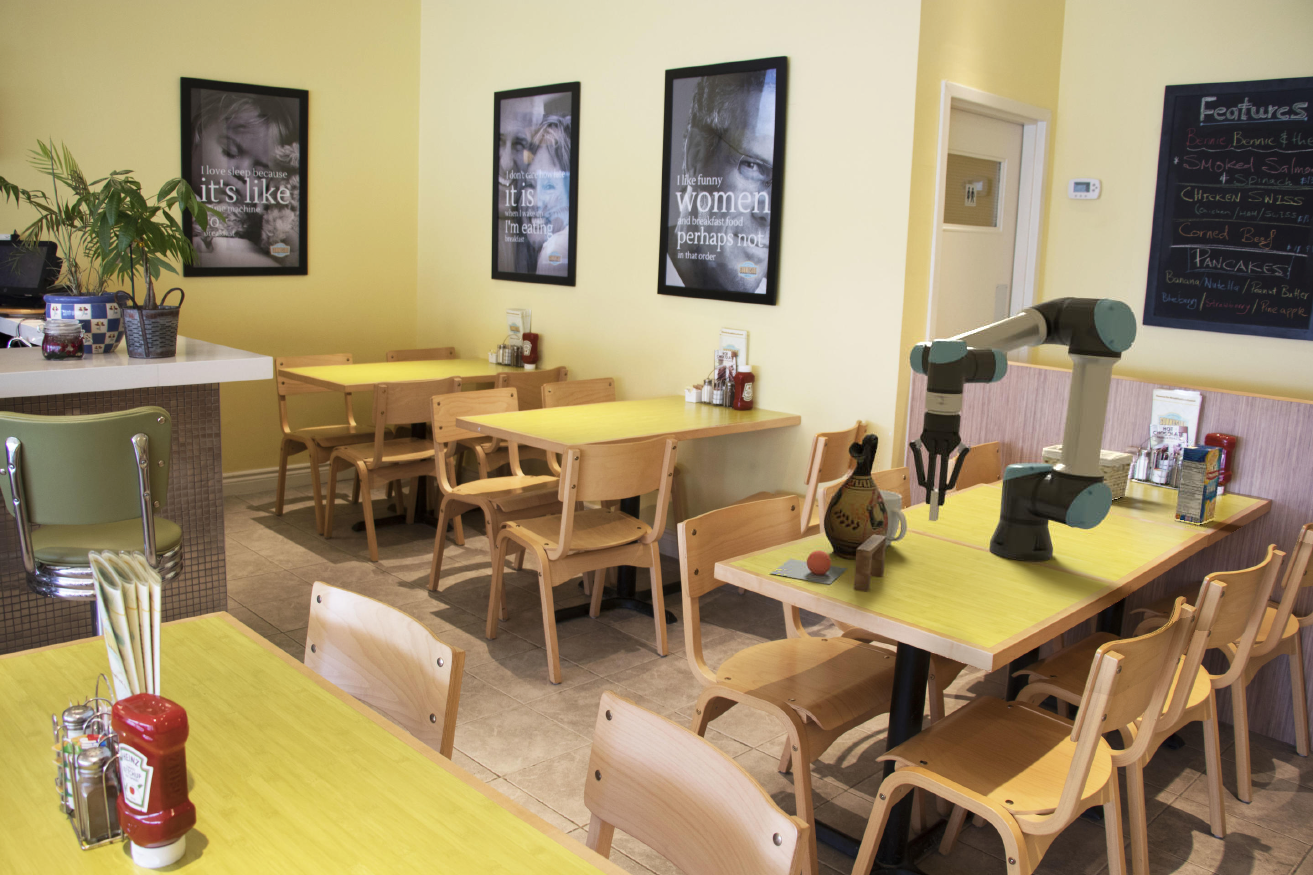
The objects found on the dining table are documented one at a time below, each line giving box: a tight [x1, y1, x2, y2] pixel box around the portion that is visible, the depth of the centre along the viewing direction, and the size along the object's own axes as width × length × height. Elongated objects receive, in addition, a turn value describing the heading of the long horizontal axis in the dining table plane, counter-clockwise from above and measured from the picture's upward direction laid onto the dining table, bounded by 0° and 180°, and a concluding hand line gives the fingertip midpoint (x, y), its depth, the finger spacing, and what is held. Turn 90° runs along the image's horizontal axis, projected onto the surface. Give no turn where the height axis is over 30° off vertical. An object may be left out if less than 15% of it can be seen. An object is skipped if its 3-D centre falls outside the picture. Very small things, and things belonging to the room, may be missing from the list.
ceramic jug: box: [823, 433, 888, 560], centre depth 251 cm, size 17×15×30 cm
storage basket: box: [1041, 444, 1134, 499], centre depth 334 cm, size 24×16×15 cm
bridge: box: [853, 534, 887, 592], centre depth 231 cm, size 3×14×9 cm, turn 154°
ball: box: [806, 550, 832, 575], centre depth 235 cm, size 6×6×6 cm
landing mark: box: [769, 558, 848, 586], centre depth 237 cm, size 14×14×1 cm
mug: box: [879, 489, 908, 547], centre depth 262 cm, size 15×11×13 cm
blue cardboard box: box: [1174, 444, 1224, 523], centre depth 302 cm, size 7×11×22 cm, turn 132°
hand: (933, 519), depth 223 cm, fingers closed
